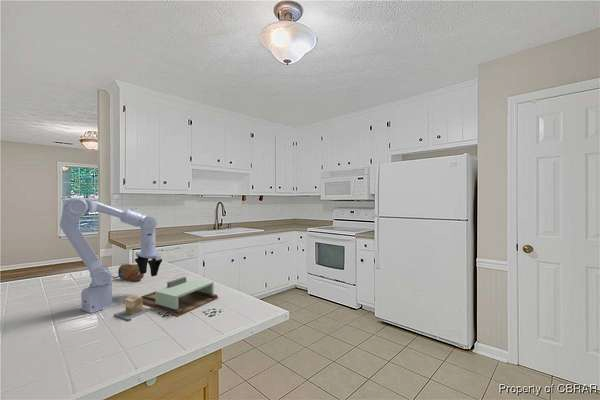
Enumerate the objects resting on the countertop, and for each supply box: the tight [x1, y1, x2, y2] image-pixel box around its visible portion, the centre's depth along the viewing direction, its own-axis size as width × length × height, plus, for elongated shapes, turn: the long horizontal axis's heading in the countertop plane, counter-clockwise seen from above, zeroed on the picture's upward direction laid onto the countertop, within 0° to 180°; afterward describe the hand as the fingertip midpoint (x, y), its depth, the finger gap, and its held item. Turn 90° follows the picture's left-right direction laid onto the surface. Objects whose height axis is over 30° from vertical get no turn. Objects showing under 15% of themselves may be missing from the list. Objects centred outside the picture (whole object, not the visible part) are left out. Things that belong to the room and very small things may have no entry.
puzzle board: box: [140, 291, 219, 317], centre depth 116 cm, size 20×30×2 cm, turn 62°
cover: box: [154, 276, 215, 309], centre depth 113 cm, size 18×12×7 cm, turn 152°
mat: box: [113, 306, 152, 322], centre depth 103 cm, size 9×9×1 cm
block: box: [124, 295, 144, 315], centre depth 103 cm, size 4×4×5 cm
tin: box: [117, 263, 145, 282], centre depth 144 cm, size 15×3×8 cm, turn 73°
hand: (148, 274), depth 121 cm, fingers open, 7 cm apart
